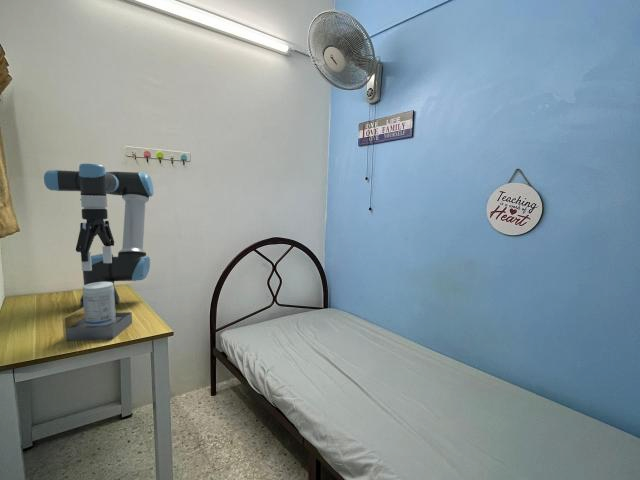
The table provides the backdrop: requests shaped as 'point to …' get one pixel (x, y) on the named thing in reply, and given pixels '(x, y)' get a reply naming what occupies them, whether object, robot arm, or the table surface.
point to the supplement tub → (99, 304)
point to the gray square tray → (93, 327)
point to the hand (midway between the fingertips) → (97, 266)
